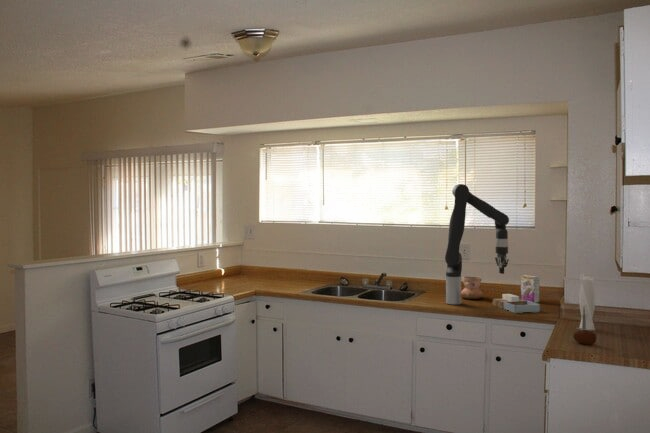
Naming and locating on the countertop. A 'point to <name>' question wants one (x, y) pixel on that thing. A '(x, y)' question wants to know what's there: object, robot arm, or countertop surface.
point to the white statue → (587, 303)
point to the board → (500, 302)
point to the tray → (522, 307)
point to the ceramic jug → (471, 287)
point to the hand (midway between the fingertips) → (501, 273)
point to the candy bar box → (530, 288)
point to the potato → (585, 337)
